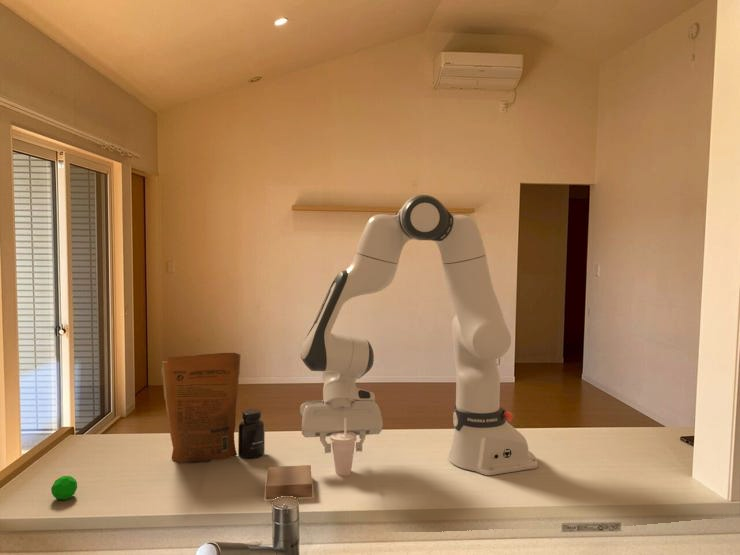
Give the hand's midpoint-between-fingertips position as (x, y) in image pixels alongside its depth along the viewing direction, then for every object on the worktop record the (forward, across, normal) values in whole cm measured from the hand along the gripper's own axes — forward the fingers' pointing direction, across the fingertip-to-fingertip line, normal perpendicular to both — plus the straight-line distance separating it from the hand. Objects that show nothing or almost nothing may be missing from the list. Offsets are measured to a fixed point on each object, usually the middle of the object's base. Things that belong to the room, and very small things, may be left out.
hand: (343, 451), depth 135 cm
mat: (+9, -14, 0) cm, 16 cm away
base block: (+8, -13, -1) cm, 15 cm away
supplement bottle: (-6, -23, +15) cm, 28 cm away
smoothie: (+4, 0, +5) cm, 6 cm away
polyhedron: (+7, -62, +1) cm, 62 cm away
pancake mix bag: (-5, -35, +14) cm, 38 cm away
